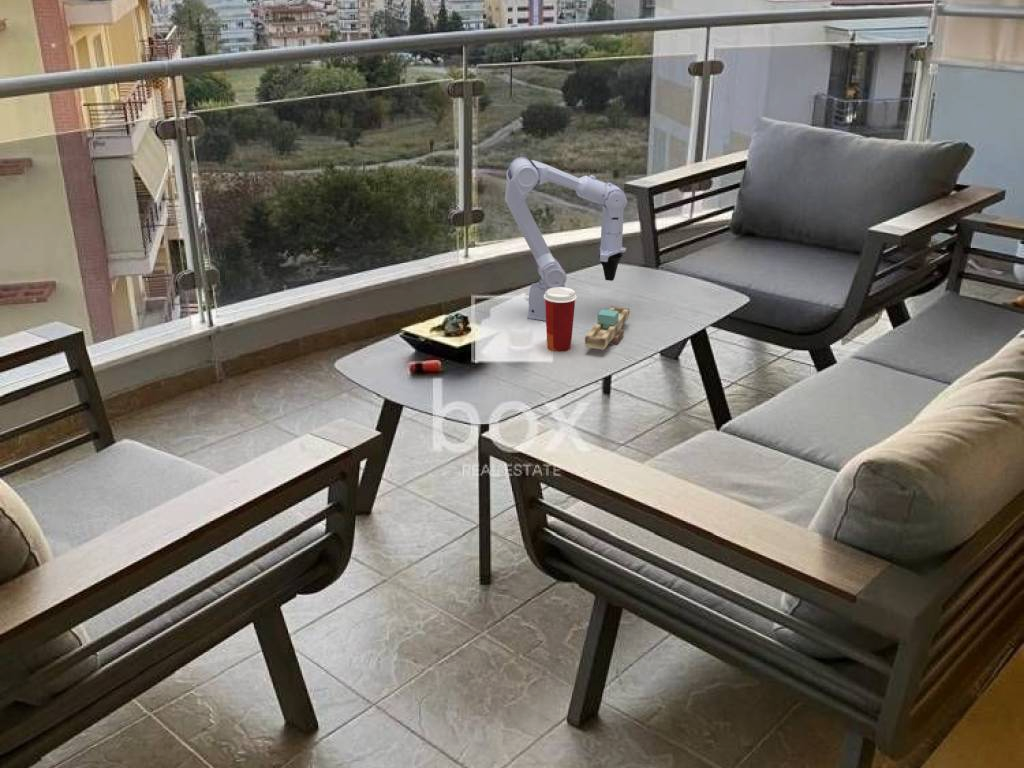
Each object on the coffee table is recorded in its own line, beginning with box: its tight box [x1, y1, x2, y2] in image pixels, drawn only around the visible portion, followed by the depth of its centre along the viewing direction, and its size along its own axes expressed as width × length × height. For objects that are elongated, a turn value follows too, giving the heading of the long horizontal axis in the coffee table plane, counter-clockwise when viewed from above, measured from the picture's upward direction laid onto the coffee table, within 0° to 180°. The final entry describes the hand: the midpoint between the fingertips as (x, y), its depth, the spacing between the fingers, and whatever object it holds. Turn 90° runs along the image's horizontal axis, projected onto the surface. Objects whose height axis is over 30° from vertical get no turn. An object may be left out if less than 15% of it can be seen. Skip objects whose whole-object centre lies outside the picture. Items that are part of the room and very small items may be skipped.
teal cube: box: [597, 308, 619, 329], centre depth 261 cm, size 4×4×4 cm
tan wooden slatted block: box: [584, 305, 630, 351], centre depth 263 cm, size 24×7×5 cm, turn 159°
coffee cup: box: [544, 286, 578, 353], centre depth 255 cm, size 8×8×15 cm
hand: (609, 279), depth 276 cm, fingers closed
